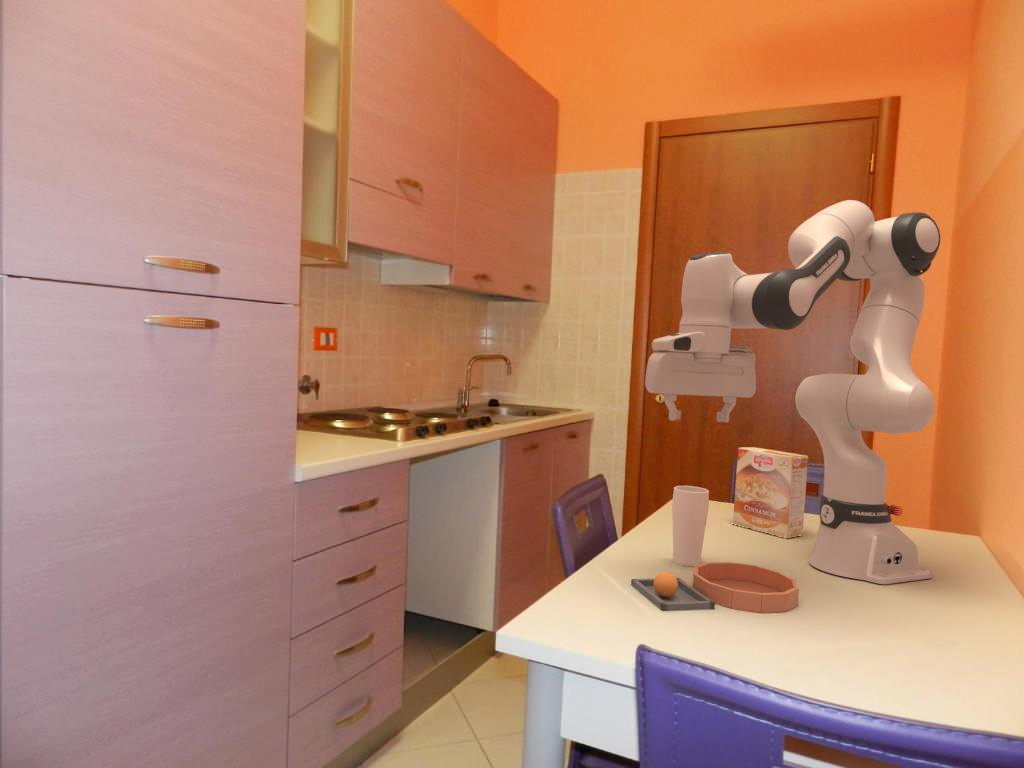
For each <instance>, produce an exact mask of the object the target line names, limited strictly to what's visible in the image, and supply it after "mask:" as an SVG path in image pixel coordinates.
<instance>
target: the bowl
mask: <svg viewBox="0 0 1024 768" xmlns="http://www.w3.org/2000/svg"><path fill="white" fill-rule="evenodd" d="M692 577H693V579H692V587H693V588H694V589H696V590H697V591H699V592H700V593H702V594H703V595H705V596H706V597H708V598H709V599H710V600H712V601H713V602H715V605H719V606H722V607H726V608H728V609H733V610H738V611H745V612H752V613H761V614H762V613H763V614H764V613H767V614H769V613H770V614H771V613H786V612H788V611H790V610H793V609H794V608H797V607H798V606H799V593H800V588H799V585H798V583H797V580H796V579H794V578H792V577H791V576H788V575H786V574H784V573H782V572H780V571H778V570H776V569H775V570H774V569H770V568H767V567H763V566H759V565H756V564H748V563H742V562H740V563H739V562H733V561H716V562H715V561H714V562H713V561H710V562H704V563H701V564H700V565H698V566H693V576H692Z"/></svg>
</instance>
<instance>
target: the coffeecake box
mask: <svg viewBox="0 0 1024 768" xmlns="http://www.w3.org/2000/svg"><path fill="white" fill-rule="evenodd" d="M736 459H737V460H736V474H735V475H736V476H735V477H736V478H735V486H734V489H735V490H734V501H733V502H734V503H733V519H732V525H733V524H736V525H740V526H744V527H747V528H751V529H755V530H758V531H762V532H765V533H769V534H773V535H777V536H780V537H784V538H790V537H795V536H799V535H802V536H803V534H804V533H803V532H804V531H803V530H804V519H805V515H804V514H805V507H806V506H805V505H806V492H807V491H806V490H807V476H808V466H809V465H808V462H809V455H804V454H798V453H792V452H786V451H779V450H774V449H768V448H767V449H766V448H762V447H755V446H752V447H750V446H749V447H748V446H746V447H745V446H744V447H737V457H736ZM747 528H746V529H747ZM758 531H757V532H758ZM762 532H761V533H762ZM765 533H764V534H765ZM769 534H768V535H769ZM773 535H772V536H773ZM780 537H779V538H780ZM784 538H783V539H784ZM795 538H796V537H795Z"/></svg>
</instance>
